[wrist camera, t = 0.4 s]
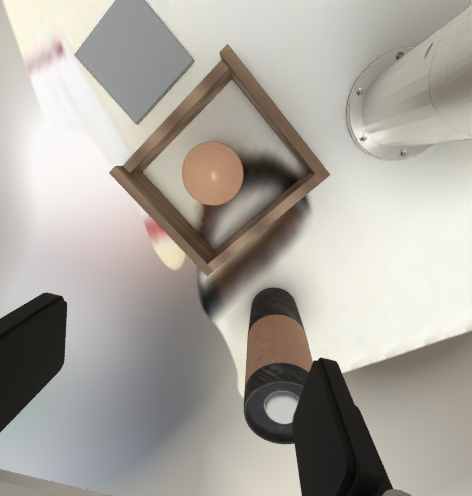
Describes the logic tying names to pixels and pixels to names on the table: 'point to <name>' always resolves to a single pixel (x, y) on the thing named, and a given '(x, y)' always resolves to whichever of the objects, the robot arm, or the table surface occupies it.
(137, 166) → the brown wooden square frame
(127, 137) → the table surface
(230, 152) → the terracotta pot
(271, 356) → the travel mug
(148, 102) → the slate mat
